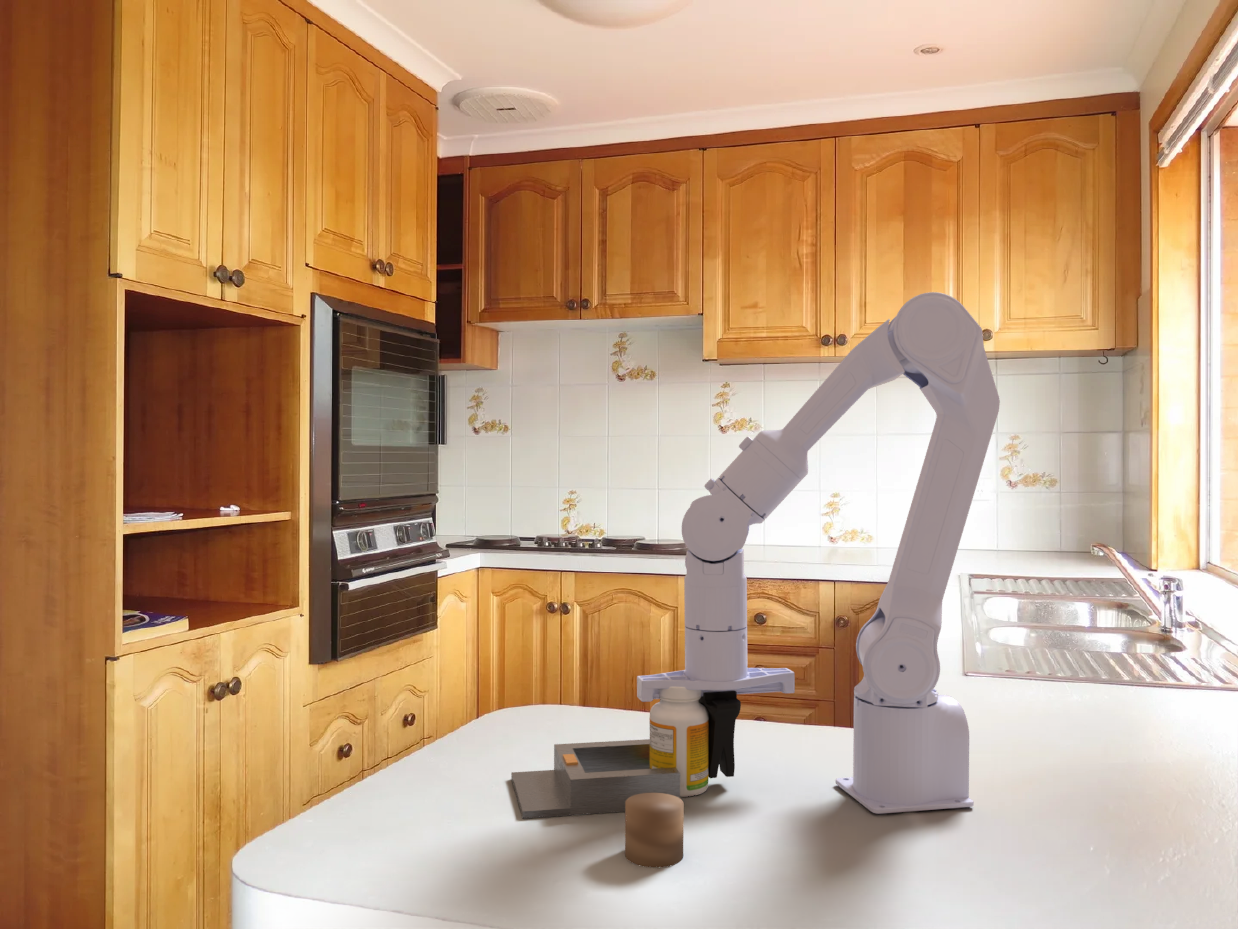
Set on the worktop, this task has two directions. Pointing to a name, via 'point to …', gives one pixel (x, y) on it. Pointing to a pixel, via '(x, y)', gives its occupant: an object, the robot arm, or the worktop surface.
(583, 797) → the socket
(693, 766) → the supplement bottle
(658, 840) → the knob
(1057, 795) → the worktop surface
